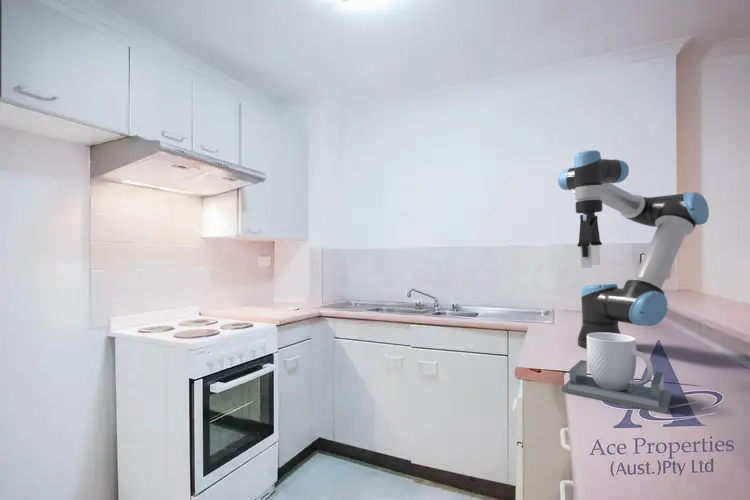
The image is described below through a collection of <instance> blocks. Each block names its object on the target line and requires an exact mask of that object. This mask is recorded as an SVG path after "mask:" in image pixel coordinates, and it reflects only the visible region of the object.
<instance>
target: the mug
mask: <svg viewBox="0 0 750 500" xmlns="http://www.w3.org/2000/svg"><path fill="white" fill-rule="evenodd" d="M586 354H587V366H588V368H589V371H590V375H591V376H592V377H593V379H594V381H595V383H596V384H597V385H598V386H599V387H601V388H603V389H607V390H612V391H624V390H626V389H627V388H628V387H629V386H630V384H631V385H639V386H643V385H646V384H648V383H649V382H650V381H651V380H652V379H653V377H654V376H653V375H654V368H653V367H654V366H653V363H652V361H651V360H650V358H649V357H648V356H647V355H646V354H645V353H643V352H641V351H638V350H637V339H636V338H635V337H633V336H631V335H627V334H622V333H621V334H616V333H604V332H597V333H590V334H588V335H587V348H586ZM637 357H639V358H641V359H642V360H643V362H645V363H644V364H645V366H646V369H647V372H646V373H647V374H646V376H645V378H644V379H642V380H634V377H635V374H636V369H637Z"/></svg>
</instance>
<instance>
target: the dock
mask: <svg viewBox="0 0 750 500" xmlns="http://www.w3.org/2000/svg"><path fill="white" fill-rule="evenodd" d="M587 366H588V360H583V359H581V360H579V361H578V362H577V363H576V364H575V365H574V366H572V368H570V369H569V380H568V381H567V382H566V383H565V384H564V385H563V386H561V392H562V393H564V394H565V393H566V394H571V395H575V396H579V397H583V398H584V397H585V398H588V399H595V400H599V401H603V402H608V403H612V404H613V403H614V404H619V405H624V406H628V407H632V406H633V408H637V407H638V408H639V409H642V408H643V410H648V411H653V412H657V413H661V414H667V415H668V410H669V407H670V403H671V400H672V390H665V375H664V372H662V371H658V370H657V371H656V372H655V373H654V376H653V377H652V379H651V380H652V381H651V383H650V386H649V387H648V386H643V385H631V384H630V386H629V387H628V388H627V389H626V390H624V391H612V390H607V389H603V388H601V387H599V386H598V385H597V384H596V383H595V381H594V379H593V377H591V376H588V369H587V368H588V367H587Z"/></svg>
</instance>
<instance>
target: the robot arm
mask: <svg viewBox="0 0 750 500" xmlns="http://www.w3.org/2000/svg"><path fill="white" fill-rule="evenodd" d="M629 172H630V168H629V165H628V163H627V162H625V161H624V160H619V159H616V158H615V159H610V158H609V159H607V158H602V157H601V152H600V151H599V150H585V151H581V152H578V153H576V154H575V155H574V157H573V167H568V169H564V170H562V171H561V172H559V174H558V177H557V183H558V186H559V187H560V189H562V190H564V191H571V190H574V191H573V195H574V196H575V200H576V202H575V213H576V214H579V219H580V223H579V235H578V236H579V237H578V243H577V247H579V248H580V267H581V268H582V269H584V268H585V269H590V268H592V266H600V265H601V263H600V262H601V257H600V254H601V253H600V246H602V244H603V242H602V241H601V238H600V237H601V236H600V229H599V222H598V221H599V220H598V215H596V214H595V213H600V212H602V211H603V205H605V206H608V207H609V208H611V209H613V210H616V211H618V212H620V215H621V216H622V217H623V218H625V219H627V220H630V221H632V222H634V223H637V224H641V225H643V226H648V227H654V228H656V230H655V232H654V235H653V236H652V238H651V241H650V243H649V245H648V246H647V248H646V250H645V251H646V252H645V254H644V255H643V258H642V259H641V262H640V264H639V266H638V268H637V271H636V272H635V275H634V277H633V278H631V279H627V280H626V281H625V284H624V285H623V288H619V286H618V284H616V283H606V284H605V283H604V284H592V285H585V286H583V287H582V288H581V296H580V298H581V319H582V321H581V323H582V325H581V328H580V331H579V333H578V337H577V345H578V346H579V347H582V348H585V349H587V335H588V334H590V333H597V332H604V333H616V334H622V333H621V330H620V328H619V327H620V326H619V322H621V323H625V324H630V325H636V326H639V327H640V326H643V327H644V326H647V327H652V326H656V325H658V324H660V323H661V322H662V321H663V320H664V319H665V317H666V315H667V312H668V307H667V306H669V304H668V303H669V302H668V298H667V297H666V296H665V291H664V290H663V286H664V283H665V281H666V280H667V277H668V275H669V273H670V270H671V268H672V266H673V264H674V262H675V260H676V257H677V255H678V253H679V250H680V248H681V246H682V244H683V242H684V239H685V237H686V236H688V235H691V234H692V233H693V232H694V231H695V230H694V229H695V228H696V226H701V225H704V224H706V223H707V221H708V220H709V215H710V214H709V213H710V212H709V205H708V203H707V200H706V198H705V197H704V196H703V195H702V194H701V193H700V192H694V191H693V192H684V193H677V194H669V195H661V196H651V197H647V196H645V197H644V196H642V195H640V194H632V193H630V192H628V191H626V190H624V189H622V188H620V186H619V187H618V186H616V185H615V184H617V183H621V182H623V181H624V180H626V179H627V178H628V176H629ZM580 214H581V215H580Z"/></svg>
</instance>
